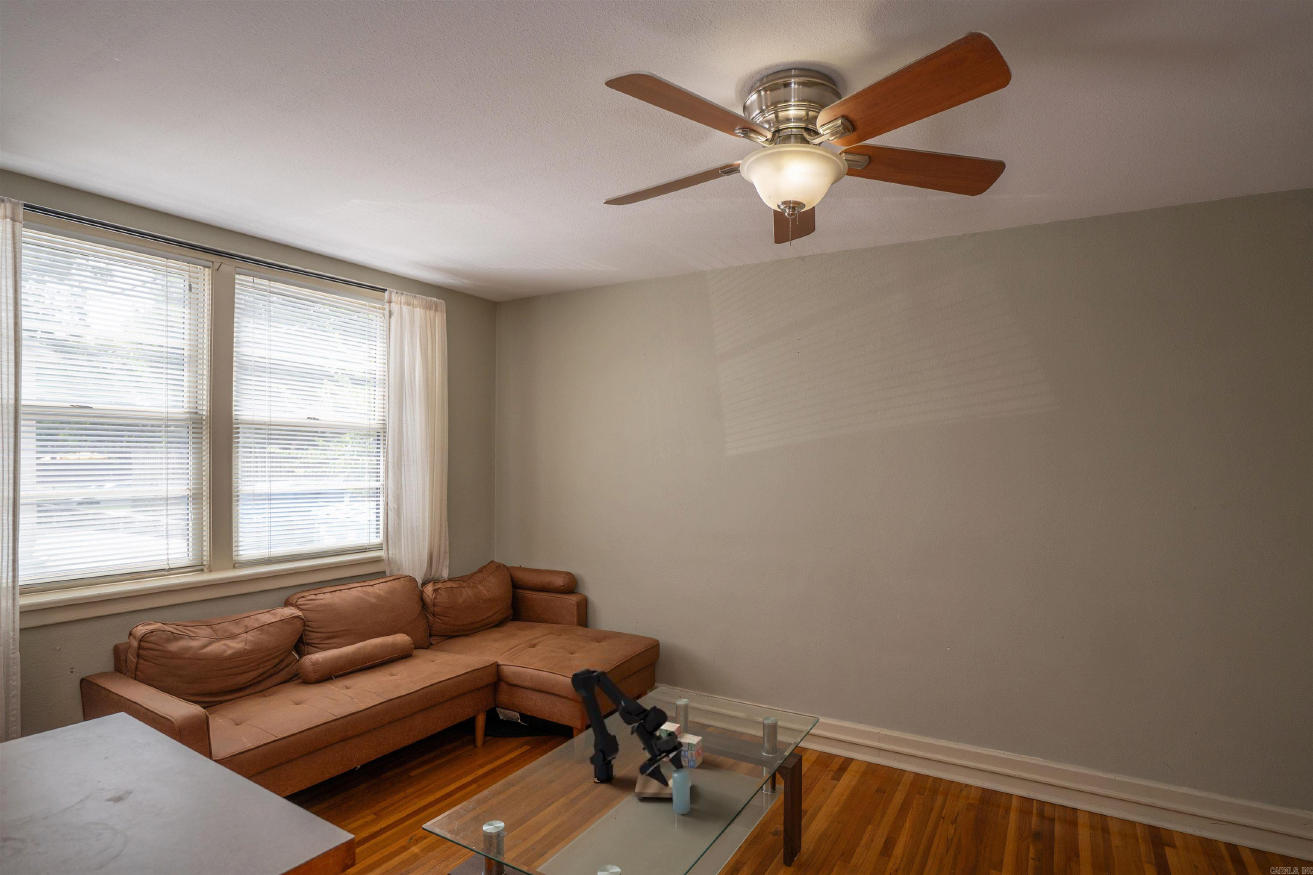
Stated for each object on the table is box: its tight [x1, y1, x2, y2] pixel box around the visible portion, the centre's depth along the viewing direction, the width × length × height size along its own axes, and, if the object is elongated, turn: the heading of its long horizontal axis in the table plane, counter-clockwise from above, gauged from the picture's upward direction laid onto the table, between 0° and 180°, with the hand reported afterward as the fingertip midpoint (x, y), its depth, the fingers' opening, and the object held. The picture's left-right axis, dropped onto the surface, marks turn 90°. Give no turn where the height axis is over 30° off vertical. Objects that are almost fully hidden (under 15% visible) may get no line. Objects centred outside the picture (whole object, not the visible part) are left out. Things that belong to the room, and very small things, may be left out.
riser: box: [634, 773, 692, 801], centre depth 241 cm, size 19×12×3 cm, turn 85°
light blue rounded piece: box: [671, 768, 691, 816], centre depth 229 cm, size 6×6×12 cm
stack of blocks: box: [645, 721, 703, 769], centre depth 265 cm, size 21×6×12 cm, turn 60°
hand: (676, 780), depth 230 cm, fingers open, 9 cm apart
